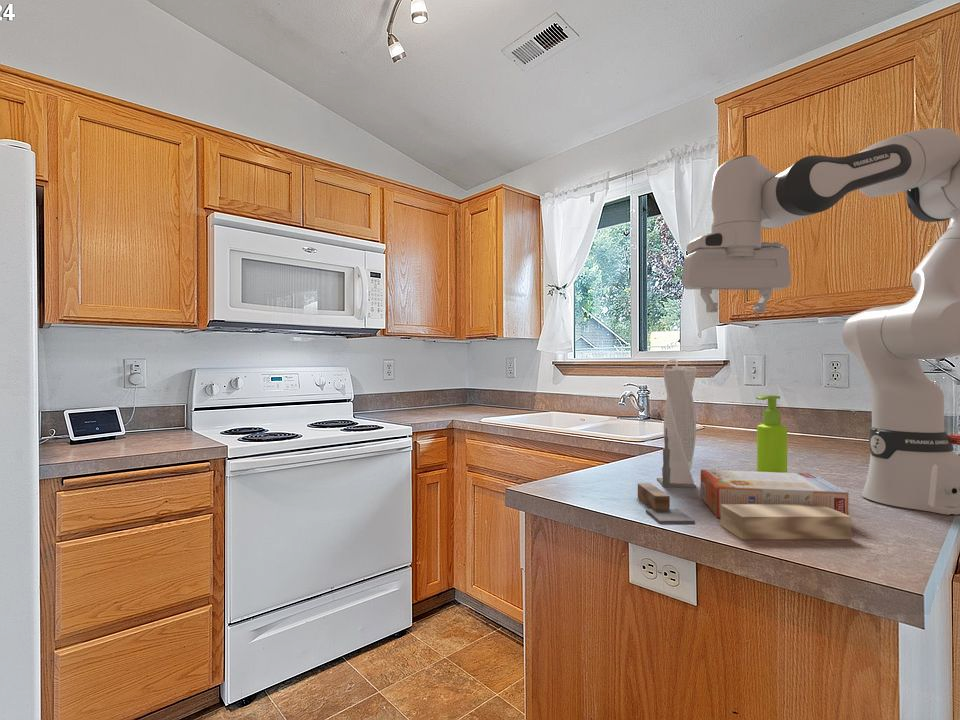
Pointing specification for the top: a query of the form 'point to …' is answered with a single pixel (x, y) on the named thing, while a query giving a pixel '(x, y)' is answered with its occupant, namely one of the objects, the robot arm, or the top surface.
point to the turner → (661, 506)
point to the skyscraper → (678, 427)
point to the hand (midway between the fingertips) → (735, 312)
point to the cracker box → (769, 489)
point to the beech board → (785, 521)
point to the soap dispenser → (771, 439)
